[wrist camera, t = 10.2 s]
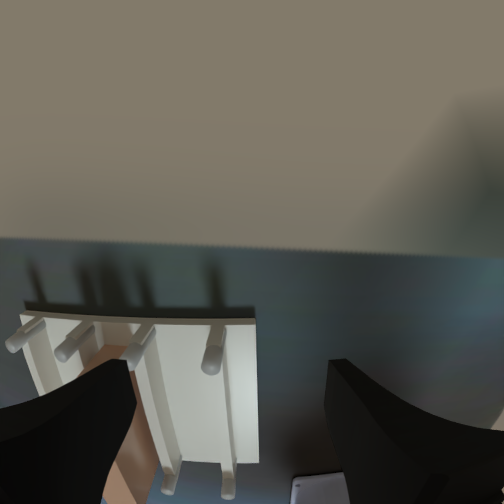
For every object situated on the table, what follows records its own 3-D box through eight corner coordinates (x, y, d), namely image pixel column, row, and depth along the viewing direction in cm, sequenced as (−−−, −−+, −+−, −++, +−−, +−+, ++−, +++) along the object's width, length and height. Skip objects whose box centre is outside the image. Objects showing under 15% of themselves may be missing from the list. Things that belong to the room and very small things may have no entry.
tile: (162, 449, 21) (142, 513, 15) (134, 445, 21) (109, 506, 15) (137, 346, 19) (94, 411, 12) (104, 344, 19) (55, 403, 13)
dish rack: (258, 454, 23) (259, 499, 18) (69, 433, 23) (48, 466, 18) (255, 317, 20) (255, 358, 15) (26, 310, 20) (-12, 335, 15)
